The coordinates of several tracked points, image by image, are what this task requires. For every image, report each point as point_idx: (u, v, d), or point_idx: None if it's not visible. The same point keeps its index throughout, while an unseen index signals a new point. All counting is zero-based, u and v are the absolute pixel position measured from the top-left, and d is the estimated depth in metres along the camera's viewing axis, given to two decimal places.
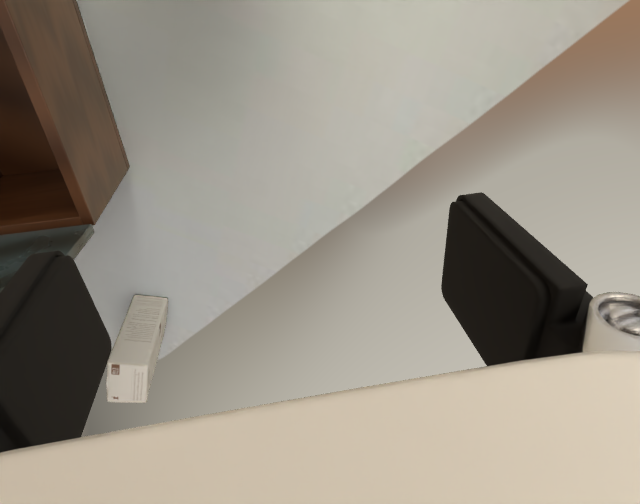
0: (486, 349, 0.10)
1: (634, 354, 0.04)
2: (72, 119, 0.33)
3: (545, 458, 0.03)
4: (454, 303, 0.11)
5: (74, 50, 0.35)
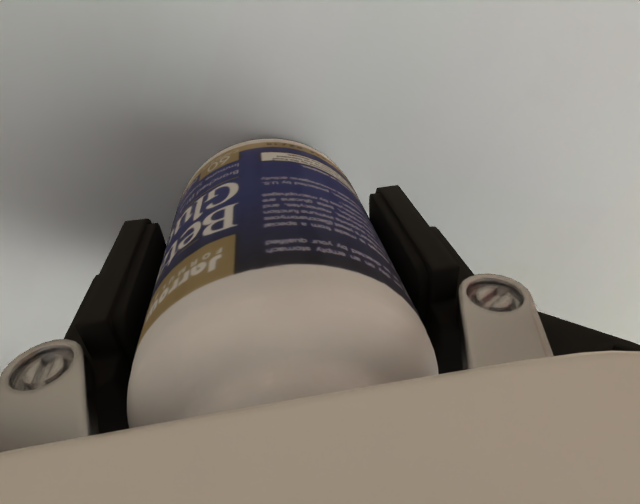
0: None
1: (634, 354, 0.04)
2: None
3: (545, 458, 0.03)
4: None
5: None
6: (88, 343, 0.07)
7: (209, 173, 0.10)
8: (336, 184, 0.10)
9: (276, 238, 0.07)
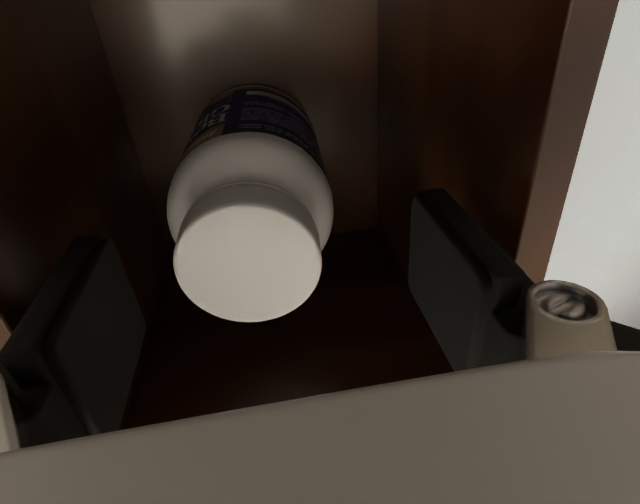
0: (443, 338, 0.10)
1: (634, 354, 0.04)
2: None
3: (545, 458, 0.03)
4: (418, 295, 0.11)
5: None
6: (15, 373, 0.07)
7: (214, 103, 0.17)
8: (291, 110, 0.16)
9: (245, 123, 0.13)
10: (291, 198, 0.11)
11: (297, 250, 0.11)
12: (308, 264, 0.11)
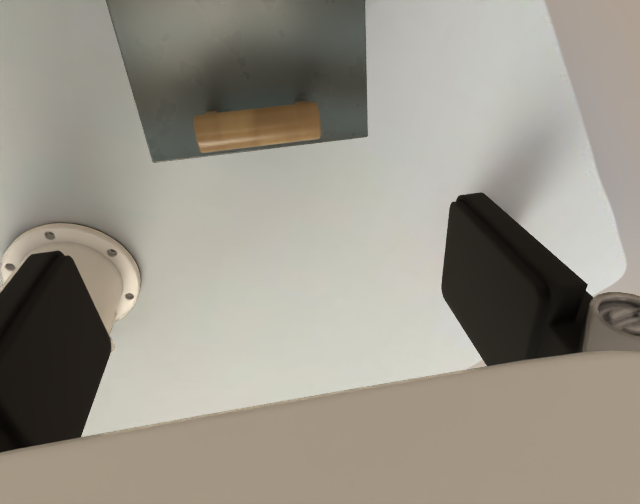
0: (486, 349, 0.10)
1: (634, 354, 0.04)
2: None
3: (545, 458, 0.03)
4: (454, 303, 0.11)
5: None
6: None
7: None
8: None
9: None
10: None
11: None
12: None
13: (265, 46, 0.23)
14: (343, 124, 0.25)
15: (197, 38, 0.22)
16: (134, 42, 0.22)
